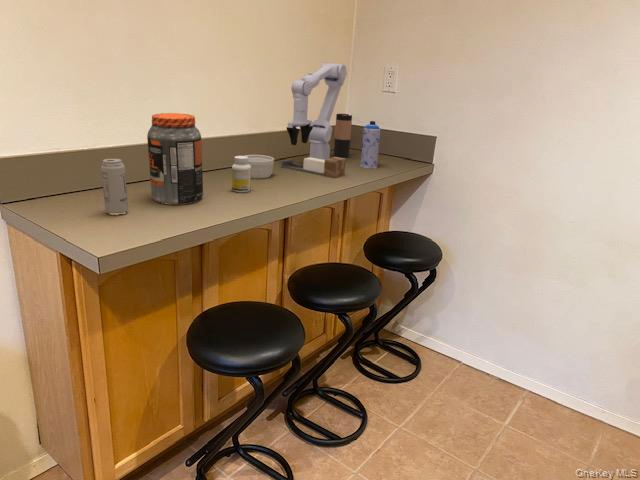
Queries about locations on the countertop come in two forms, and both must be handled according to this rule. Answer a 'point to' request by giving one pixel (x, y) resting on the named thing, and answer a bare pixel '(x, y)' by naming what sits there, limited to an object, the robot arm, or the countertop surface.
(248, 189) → the pill bottle
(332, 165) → the socket block
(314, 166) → the banded cream case
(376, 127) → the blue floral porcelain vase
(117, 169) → the energy drink can
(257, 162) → the ramekin
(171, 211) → the countertop surface
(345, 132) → the travel mug
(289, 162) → the guide channel
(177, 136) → the supplement tub
